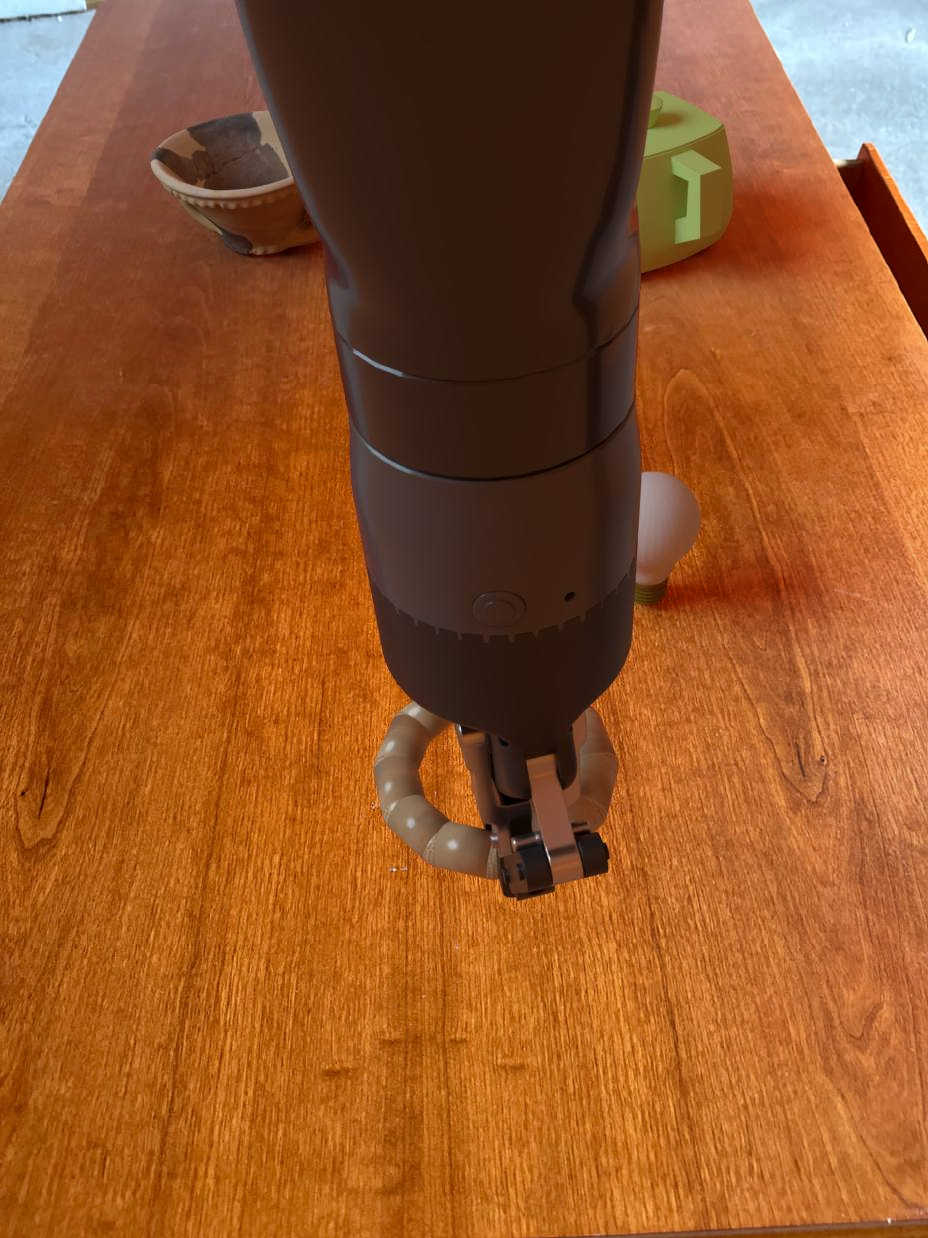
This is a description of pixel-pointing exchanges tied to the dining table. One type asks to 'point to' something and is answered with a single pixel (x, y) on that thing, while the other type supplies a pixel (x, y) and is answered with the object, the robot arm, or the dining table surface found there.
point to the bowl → (236, 183)
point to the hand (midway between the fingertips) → (520, 855)
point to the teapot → (682, 182)
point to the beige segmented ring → (460, 842)
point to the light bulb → (663, 532)
